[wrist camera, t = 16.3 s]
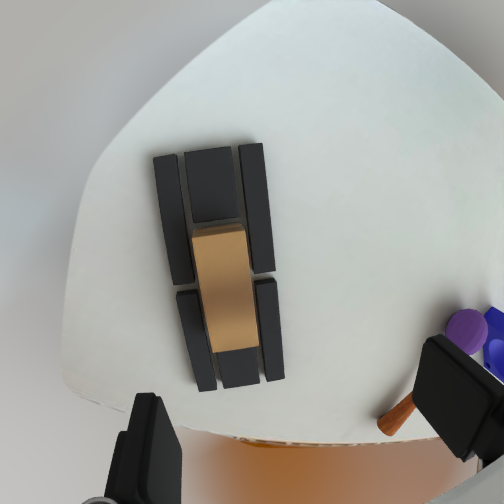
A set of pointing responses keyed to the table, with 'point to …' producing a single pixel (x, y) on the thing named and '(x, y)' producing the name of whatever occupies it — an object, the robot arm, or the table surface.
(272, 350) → the pad
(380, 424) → the kendama
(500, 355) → the blue cradle bracket
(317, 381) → the table surface
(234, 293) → the block
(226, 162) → the pad
